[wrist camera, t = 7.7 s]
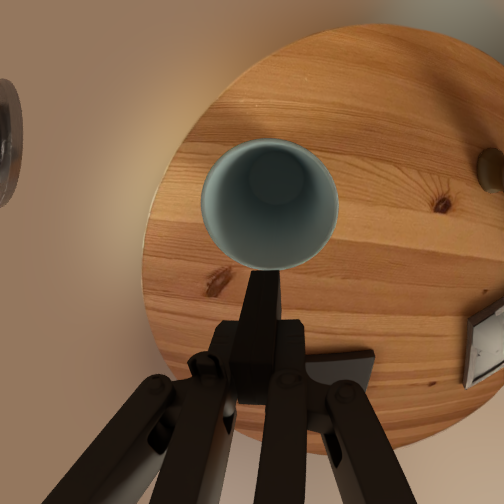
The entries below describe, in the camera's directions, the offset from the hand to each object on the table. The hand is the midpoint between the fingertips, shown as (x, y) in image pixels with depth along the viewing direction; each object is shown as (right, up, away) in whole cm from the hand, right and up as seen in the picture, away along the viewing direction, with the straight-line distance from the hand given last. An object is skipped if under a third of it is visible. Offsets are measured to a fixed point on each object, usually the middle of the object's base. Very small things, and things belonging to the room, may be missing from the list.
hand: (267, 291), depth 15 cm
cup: (+1, +9, +9) cm, 13 cm away
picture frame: (+39, -12, +14) cm, 43 cm away
